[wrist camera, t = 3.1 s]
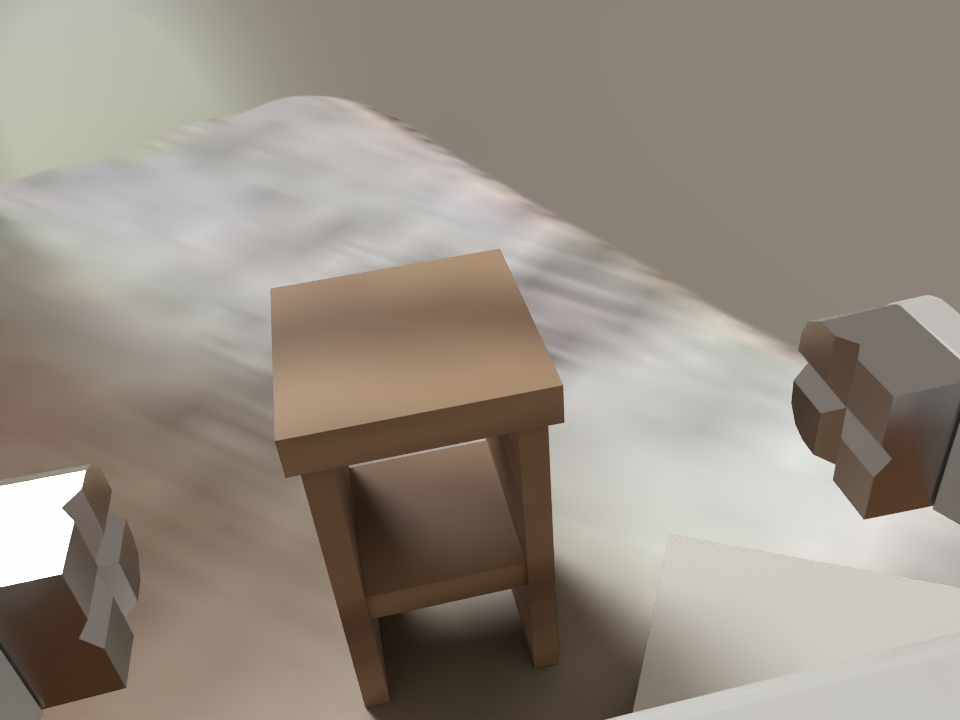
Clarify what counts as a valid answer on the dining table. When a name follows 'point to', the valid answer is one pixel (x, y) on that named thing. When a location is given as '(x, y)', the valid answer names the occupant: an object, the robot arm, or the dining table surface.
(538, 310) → the dining table surface
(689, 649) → the mat
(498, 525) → the stool
